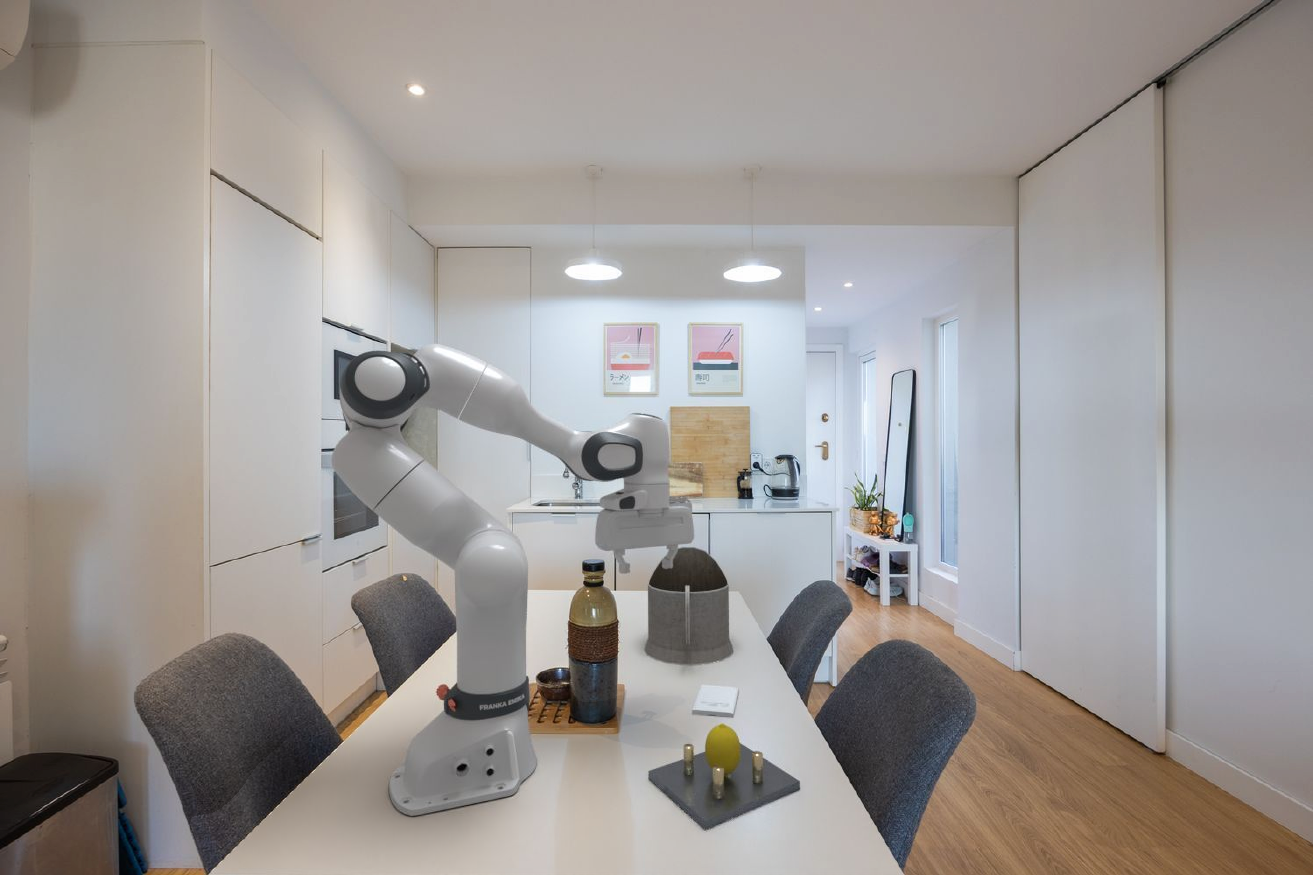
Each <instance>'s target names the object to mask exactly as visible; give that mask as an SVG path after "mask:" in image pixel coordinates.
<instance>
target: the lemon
mask: <svg viewBox="0 0 1313 875" xmlns="http://www.w3.org/2000/svg"><path fill="white" fill-rule="evenodd" d="M740 743H741V742H740V738H739V737H738V734H737V732H736V731H735V730H734V729H733V728H732V727H730V726H729V725H726V724H725V723H720V724H718V725H715V726H713V727H712V728H711V729H710V730H709V732H708V734H707V736H706V739H705V743H704V744H705V745H704V752H705V756H706V760H707V762H708V764H709V766H710V768H711V769H712V770H713V767H714V766H716V765H720V766H723V768H724V776H725V775H726V774H729V773H731V772H733V771H734V770H735V769H736V767H737V766H738V764H739V761H740V755H741V747H740Z"/></svg>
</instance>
